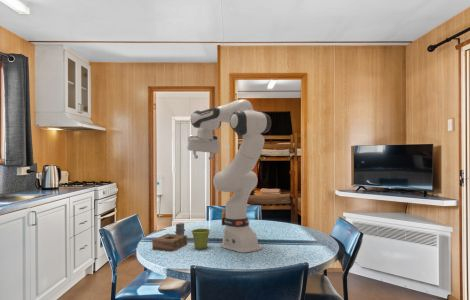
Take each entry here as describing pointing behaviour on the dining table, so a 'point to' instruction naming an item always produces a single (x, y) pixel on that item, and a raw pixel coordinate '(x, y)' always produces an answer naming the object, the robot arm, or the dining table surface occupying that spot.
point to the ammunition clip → (223, 216)
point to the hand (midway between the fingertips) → (203, 159)
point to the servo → (180, 229)
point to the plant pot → (200, 238)
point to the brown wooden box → (169, 242)
